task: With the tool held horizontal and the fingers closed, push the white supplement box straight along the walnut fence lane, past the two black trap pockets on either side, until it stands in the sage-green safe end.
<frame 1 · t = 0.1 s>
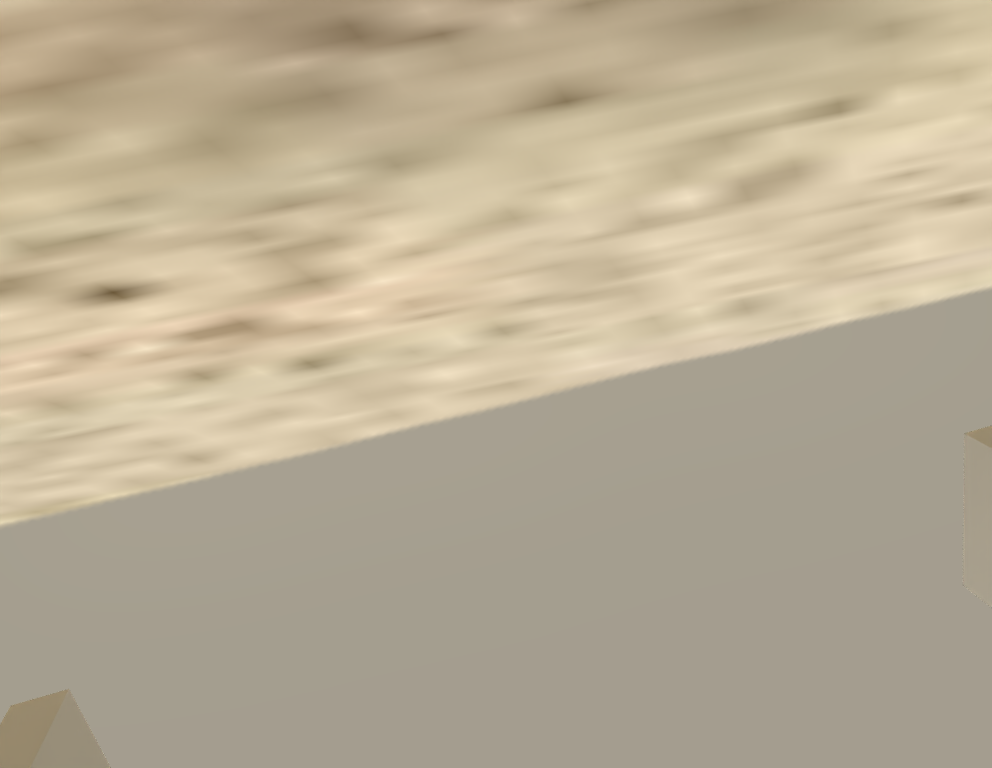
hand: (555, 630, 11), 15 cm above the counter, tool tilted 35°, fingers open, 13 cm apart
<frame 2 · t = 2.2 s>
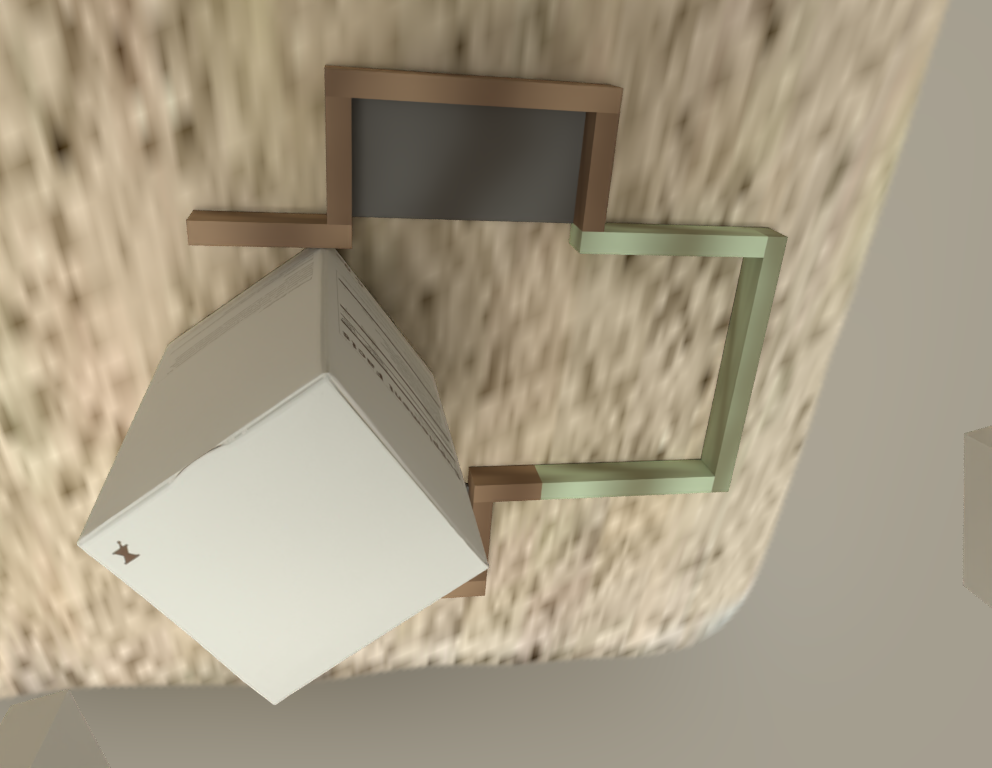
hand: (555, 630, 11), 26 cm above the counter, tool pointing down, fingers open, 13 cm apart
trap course: (466, 361, 38), on the counter
supplement box: (308, 360, 37), on the counter
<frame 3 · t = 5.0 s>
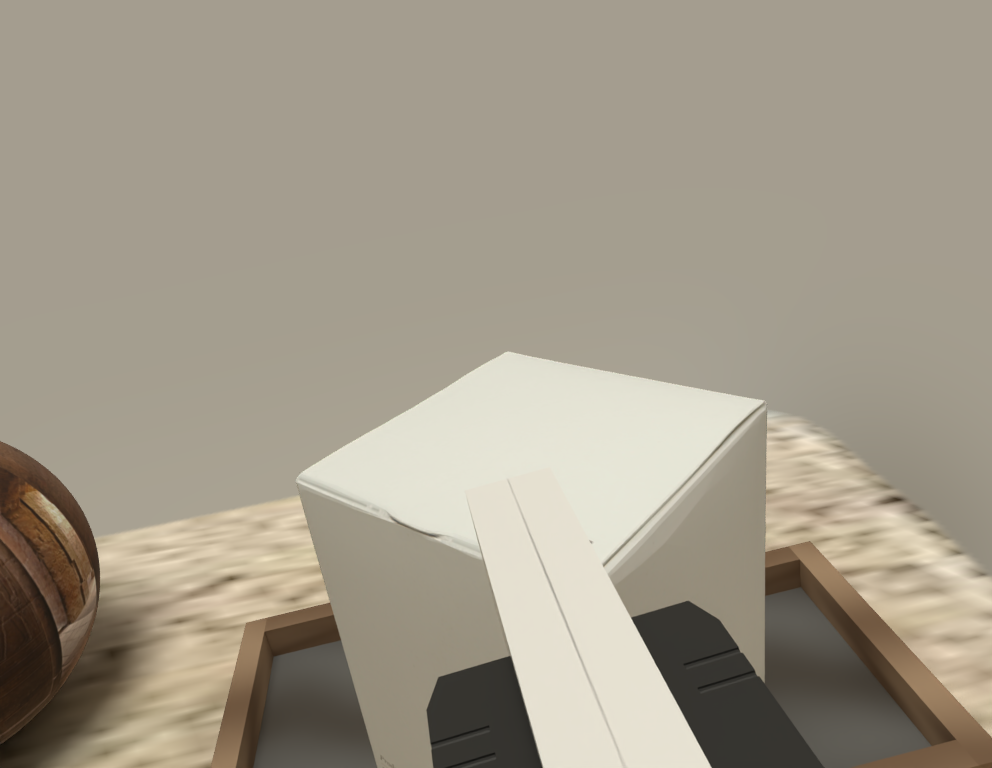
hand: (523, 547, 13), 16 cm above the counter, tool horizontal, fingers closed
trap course: (540, 666, 33), on the counter
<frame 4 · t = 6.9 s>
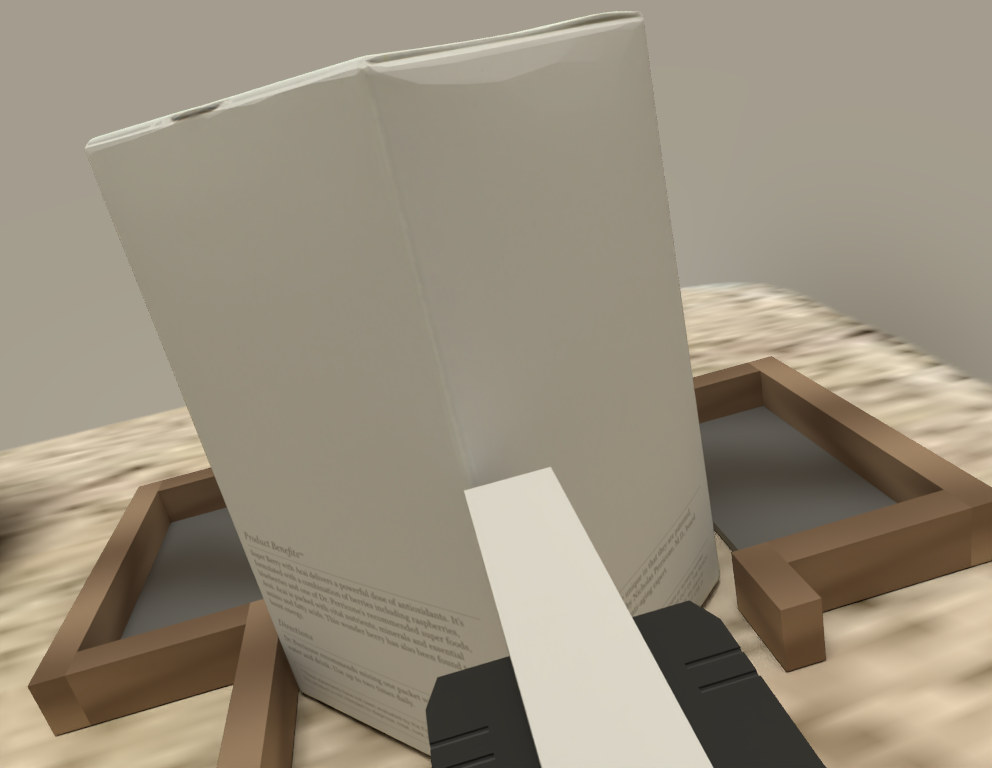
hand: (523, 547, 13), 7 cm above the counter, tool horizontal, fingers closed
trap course: (469, 501, 29), on the counter
supplement box: (514, 639, 22), on the counter, touching gripper
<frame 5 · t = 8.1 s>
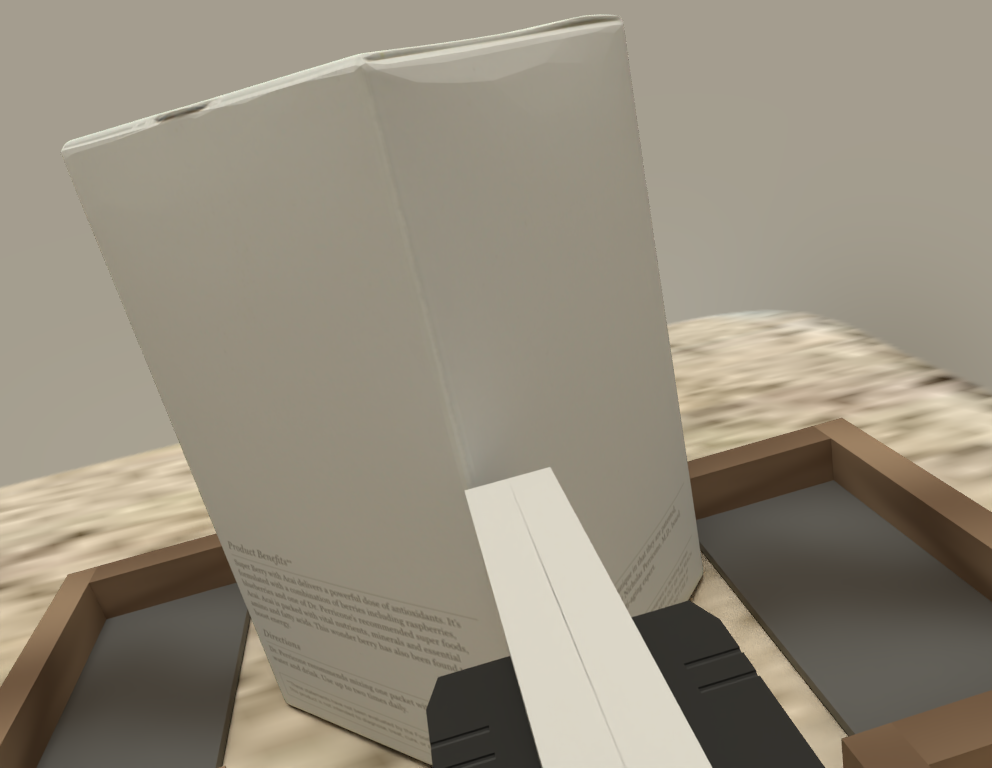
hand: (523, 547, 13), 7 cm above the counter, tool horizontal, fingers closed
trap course: (472, 604, 23), on the counter
supplement box: (502, 642, 22), on the counter, touching gripper
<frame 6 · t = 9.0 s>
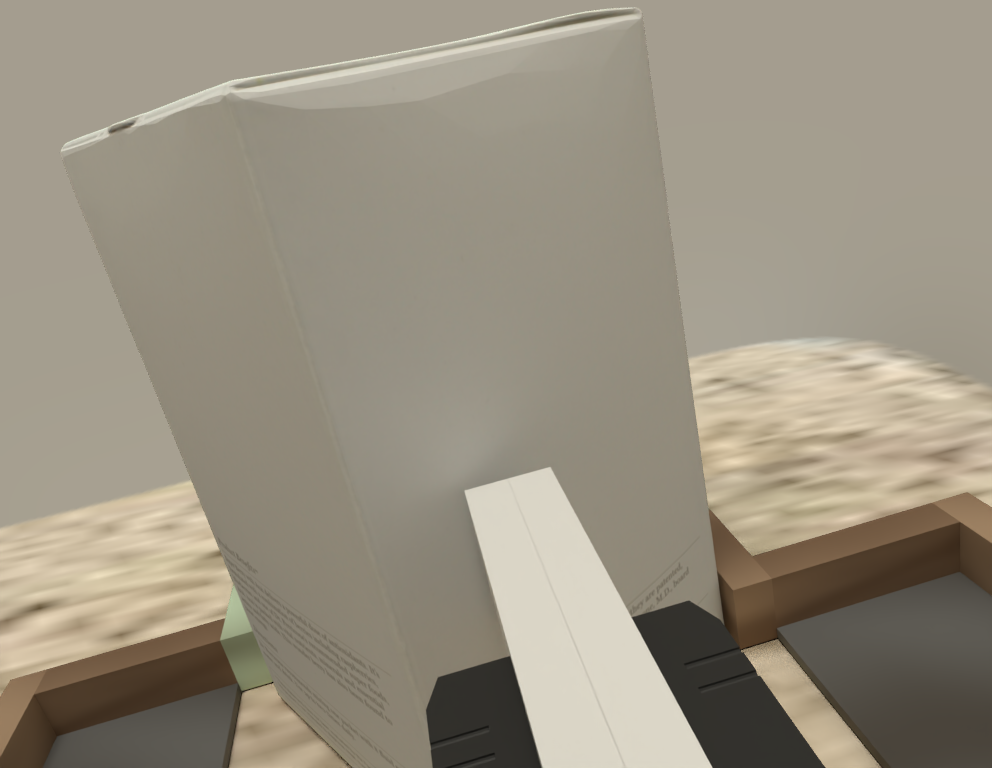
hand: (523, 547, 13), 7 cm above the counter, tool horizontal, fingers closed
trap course: (512, 736, 18), on the counter
supplement box: (496, 671, 21), on the counter, touching gripper
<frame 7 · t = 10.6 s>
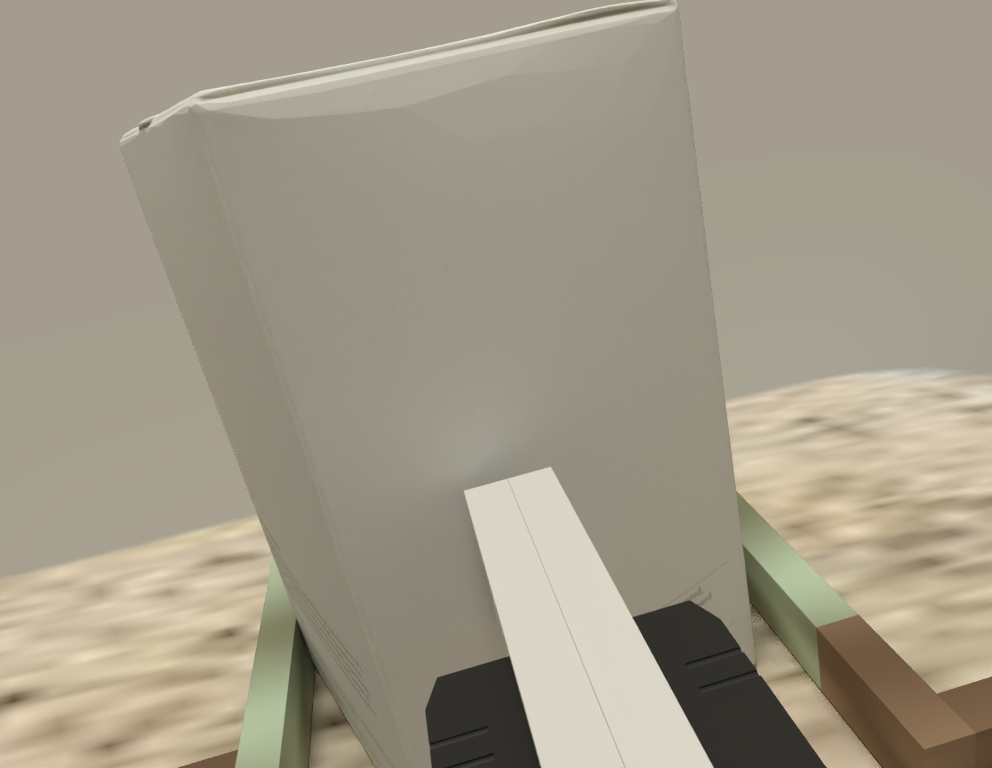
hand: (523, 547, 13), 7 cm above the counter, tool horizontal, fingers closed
supplement box: (520, 669, 21), on the counter, touching gripper
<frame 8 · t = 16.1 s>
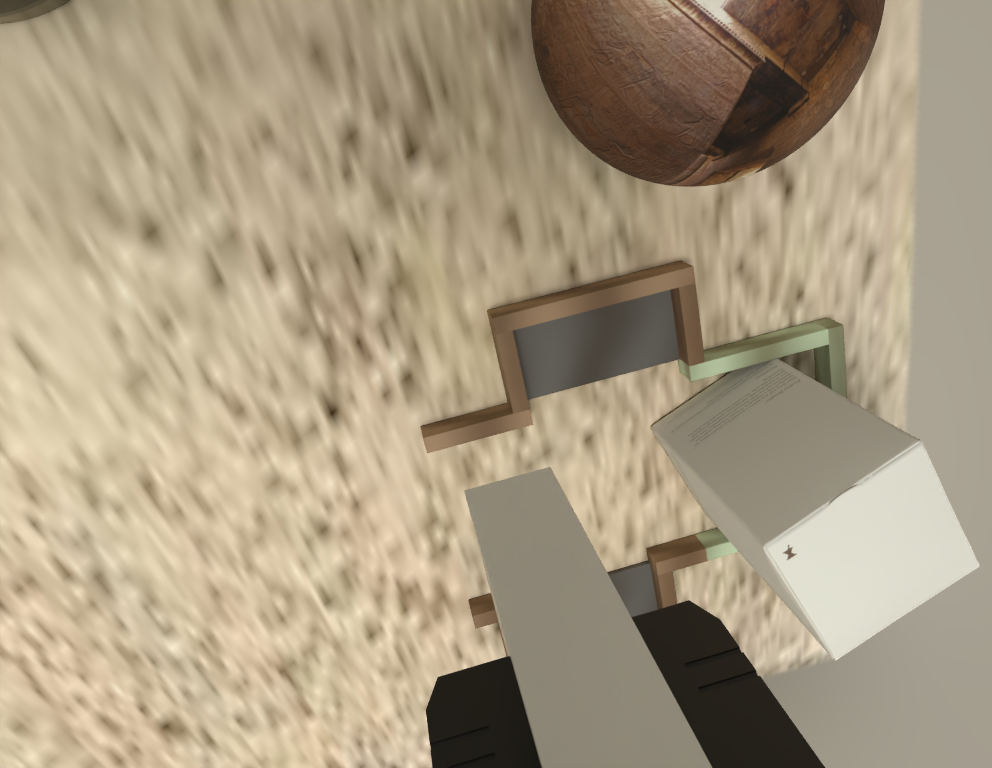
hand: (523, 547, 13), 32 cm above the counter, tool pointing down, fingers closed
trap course: (626, 474, 51), on the counter
wooden sphere: (640, 28, 42), on the counter
supplement box: (734, 435, 52), on the counter
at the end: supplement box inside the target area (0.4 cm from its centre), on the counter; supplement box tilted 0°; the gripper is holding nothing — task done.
